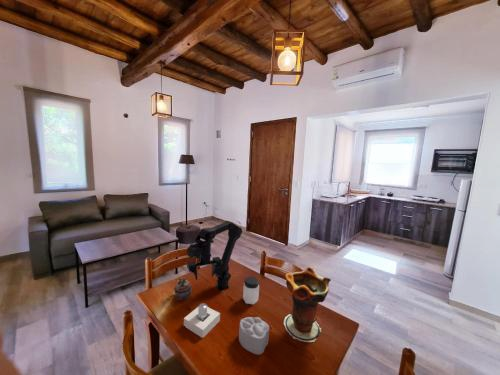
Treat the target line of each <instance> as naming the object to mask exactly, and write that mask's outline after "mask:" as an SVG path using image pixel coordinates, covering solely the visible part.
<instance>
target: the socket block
mask: <svg viewBox="0 0 500 375" xmlns="http://www.w3.org/2000/svg"><path fill="white" fill-rule="evenodd" d="M198 307H199V306H197V307H196V308H195V309H194V310H192V311H191V312H190V313H189V314H187V315H186V316H185V317H184V318H183V327H184V326H185V328H186V329H188V330H189V331H190V332H192V333H194V334H196V335H197V336H199V338H202V339H204V338H205V337H206V335H207V334H208V333H210V332H211V331H212V329H214V327H216V325H217V324H218V323H219V322H221V312H219V311H217V310H214V309H212V307H211V308H210V307H209V306H207V319H205V320H204V321H203V322H202V321H200V320H198Z"/></svg>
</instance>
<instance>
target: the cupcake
mask: <svg viewBox="0 0 500 375" xmlns="http://www.w3.org/2000/svg"><path fill="white" fill-rule="evenodd" d="M192 289H193V288H192V285H191V283H190V282H189V281H188V280H187V279H181V278H179V279H178V280H177V283H176V284H175V286H174V288H173V290H174V291H173V292H174V295H175V299H176V300H177V301H179V302H180V301H181V302H183V301H186V300H188V299H189V298H190V296H191V293H192Z"/></svg>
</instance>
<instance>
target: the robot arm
mask: <svg viewBox="0 0 500 375" xmlns="http://www.w3.org/2000/svg"><path fill="white" fill-rule="evenodd" d="M226 231H228V232H227V238H228V239H227V242H226V245H225V248H224V250H223V253H222V256H221V258H220V257H219V256H214V257H212V253H211V250H212V244H213V243H214V242H215V240H214V239H215V237H216V236H218V235H219V234H221V233H223V232H226ZM242 233H243V230H242V227H240V226H238V225H236V224H235V223H234V222H232V221H229V220H226V221H224V222H222V223H219V224H217V225H215V226H213V227H203V228H201V229H200V231H199V232H198V234H197V236H196V238H195V239H194V242H195V243H191V244H189V246H188V247H187V249H186V254H187V256H188V258H190V259H193V258H194V259H197V260H198V261H197V263H196V262H195V261H193V260H192V261H189V262H187V264H186V268H187V270H188V272H190V273H192V274H193V276H194V279H195V281H197V280H198V270H197V269H198V268H199V267H204V266H208V265H211V266H212V267H211V277H212V278H213V277H214V275H215V277H217V279H216V283H215V286H216V288H217V289H218V290H219V291H223V290H226V289H227V290H228V289H230V286H229V281H230V279H231V277H232V274H231V273H229V270H230V267H229V263H230V259H231V256H232V254H233V250H234V248H235V246H236V245H235V244H236V242H237V241H238V240H239V239H240V237H241V236H242ZM211 257H212V260H211Z"/></svg>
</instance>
